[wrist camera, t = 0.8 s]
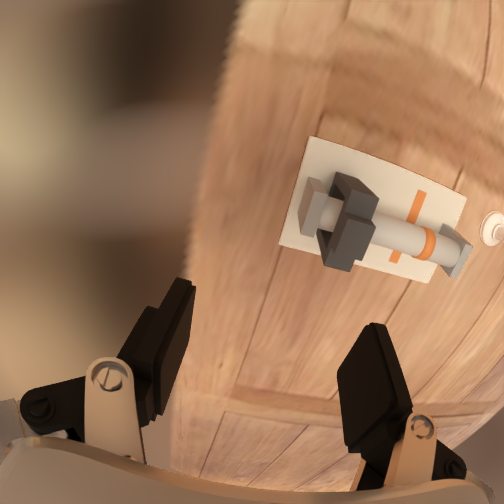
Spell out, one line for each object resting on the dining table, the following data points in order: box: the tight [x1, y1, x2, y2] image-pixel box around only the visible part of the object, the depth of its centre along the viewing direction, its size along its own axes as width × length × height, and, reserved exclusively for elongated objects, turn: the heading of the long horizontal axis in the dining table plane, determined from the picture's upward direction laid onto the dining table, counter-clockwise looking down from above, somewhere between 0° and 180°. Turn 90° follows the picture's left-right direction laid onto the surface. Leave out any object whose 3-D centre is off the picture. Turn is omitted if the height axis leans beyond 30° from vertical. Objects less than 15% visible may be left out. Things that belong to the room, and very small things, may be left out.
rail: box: [279, 135, 473, 284], centre depth 27 cm, size 20×12×7 cm, turn 77°
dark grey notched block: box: [316, 171, 379, 272], centre depth 25 cm, size 2×7×8 cm, turn 167°
